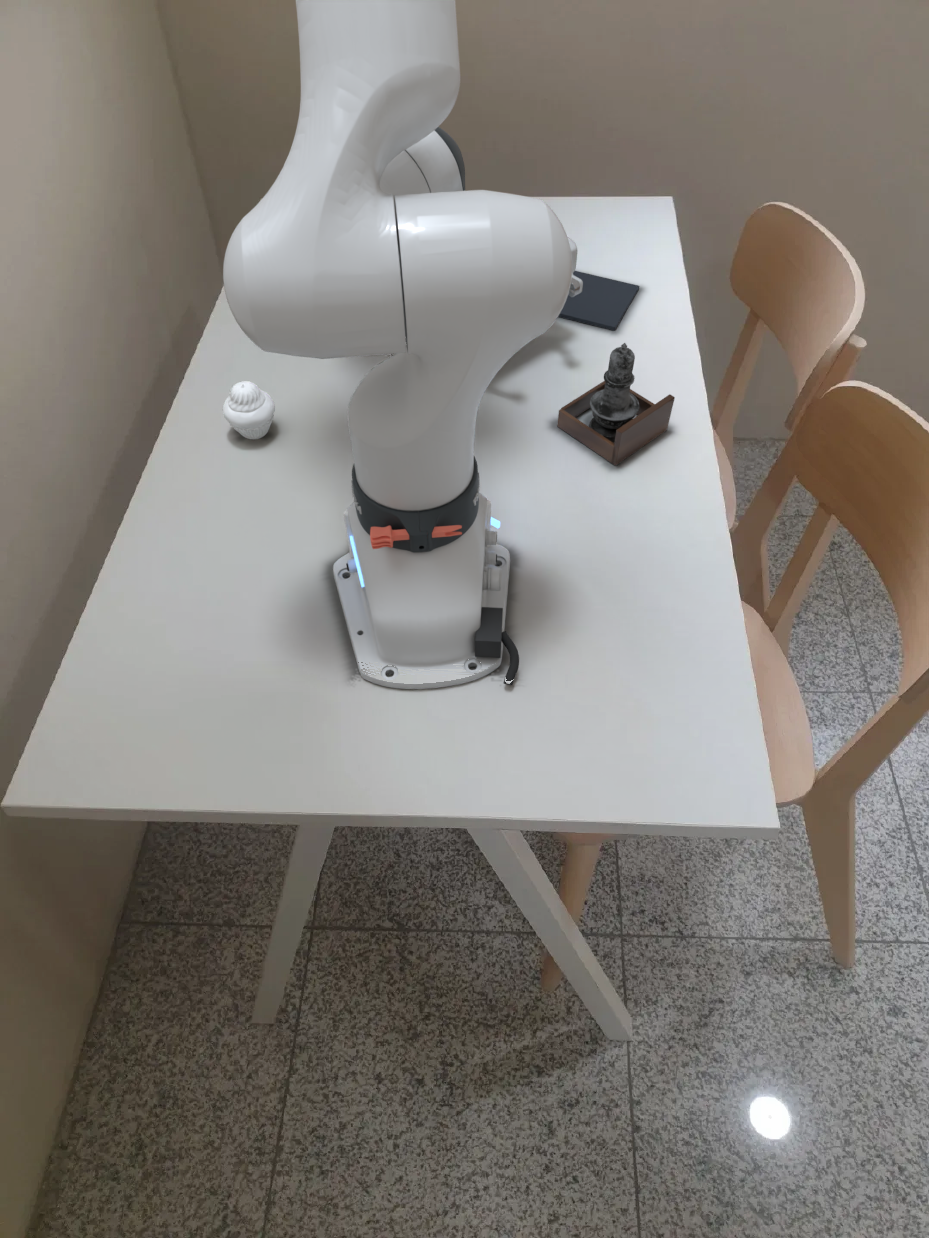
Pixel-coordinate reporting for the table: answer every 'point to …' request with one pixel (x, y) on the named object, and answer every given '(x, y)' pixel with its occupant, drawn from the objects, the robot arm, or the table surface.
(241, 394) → the muffin
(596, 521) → the table surface
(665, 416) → the wooden square frame
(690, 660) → the table surface
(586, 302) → the mat
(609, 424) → the dark grey chess piece
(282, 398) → the table surface
